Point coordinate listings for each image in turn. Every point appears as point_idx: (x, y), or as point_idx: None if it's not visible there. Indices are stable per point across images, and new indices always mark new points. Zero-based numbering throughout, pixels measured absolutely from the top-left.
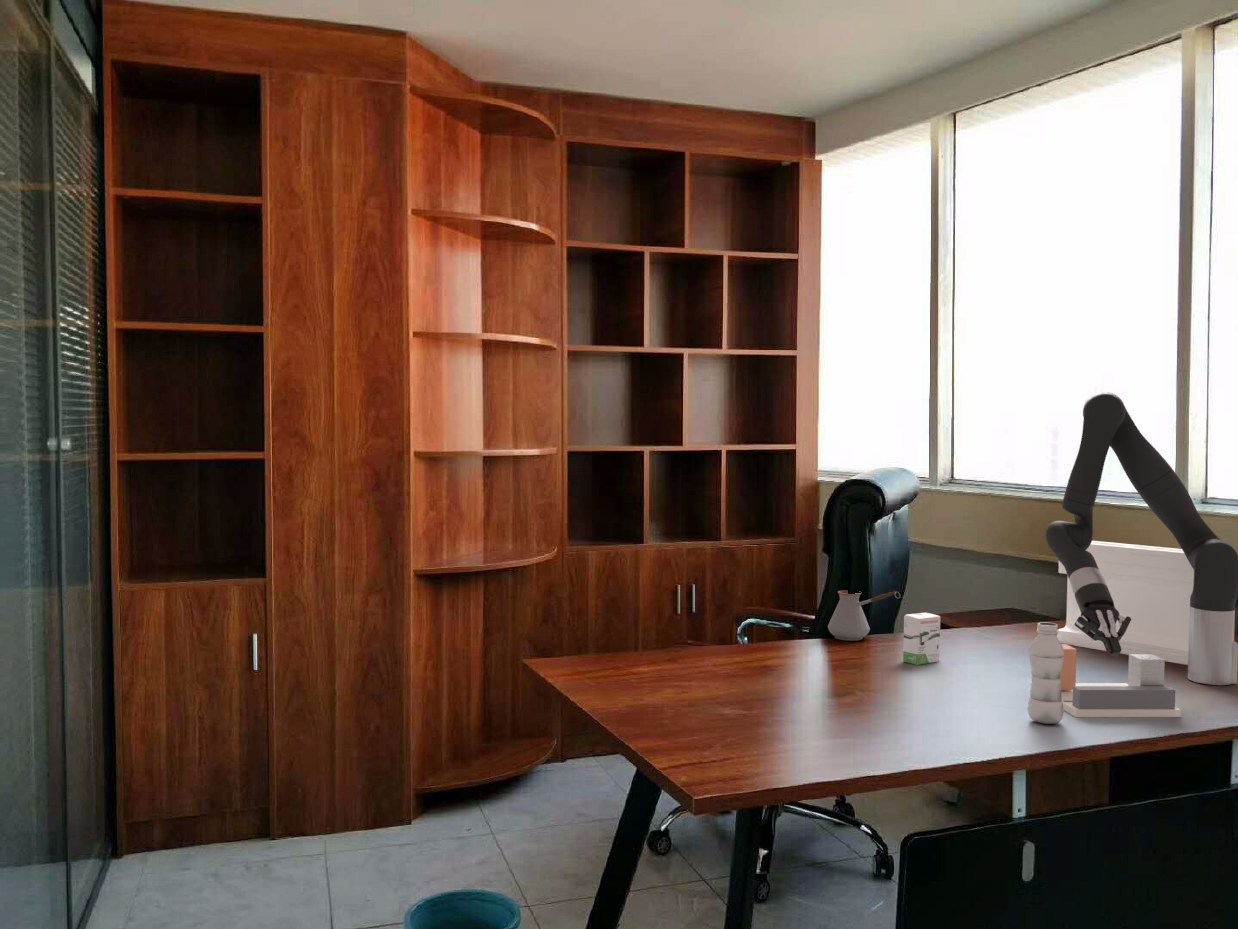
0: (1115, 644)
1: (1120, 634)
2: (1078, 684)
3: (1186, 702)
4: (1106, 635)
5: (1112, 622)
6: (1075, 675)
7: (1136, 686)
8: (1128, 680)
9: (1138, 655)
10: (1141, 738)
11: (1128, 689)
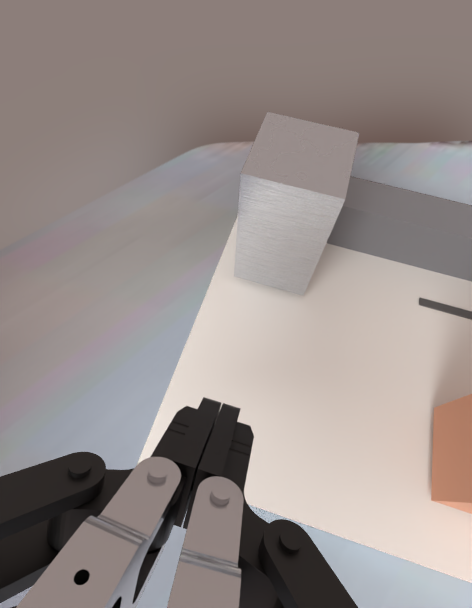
0: (206, 427)
1: (102, 466)
2: (349, 513)
3: (104, 284)
4: (234, 494)
5: (71, 583)
6: (469, 395)
7: (348, 205)
8: (315, 266)
9: (317, 176)
10: (433, 142)
11: (396, 190)
